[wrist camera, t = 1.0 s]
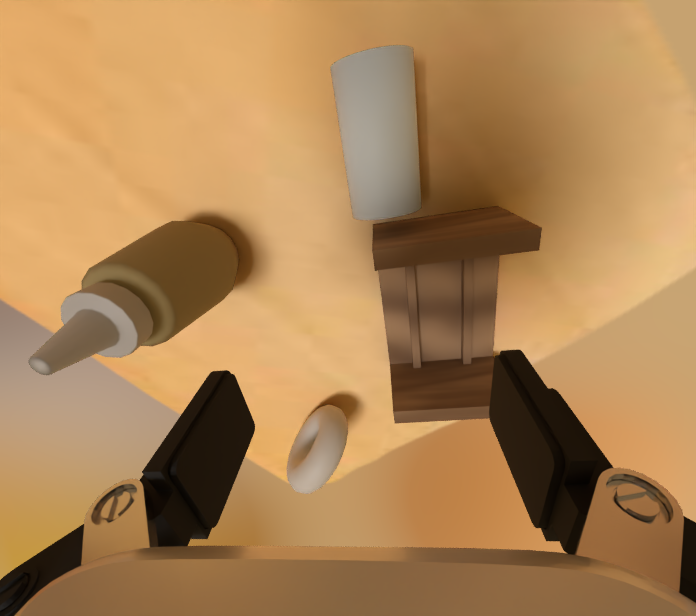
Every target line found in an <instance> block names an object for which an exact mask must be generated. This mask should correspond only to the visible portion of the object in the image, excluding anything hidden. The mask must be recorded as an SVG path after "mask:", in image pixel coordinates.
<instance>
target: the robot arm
mask: <svg viewBox="0 0 696 616" xmlns="http://www.w3.org/2000/svg"><path fill="white" fill-rule="evenodd" d="M489 417H490V422H491V424H492V427H493V429H494V432H495V434H496V437H497V439H498V441H499V444H500V446H501V449H502V451H503V453H504V456H505V458H506V461H507V463H508V465H509V468H510V470H511V473H512V475H513V478H514V480H515V483H516V485H517V487H518V489H519V492H520V494H521V497H522V499H523V502H524V504H525V507H526V509H527V512H528V514H529V516H530V519H531V521H532V523H533V525H534V526H535V527H536V528H541V530H542V532H543V535H544V537H545V539H546V541H560V543H561V546H562V548H563V550H564V551H565V552H566V553H568V554H565V553H557V552H545V551H533V550H506V549H475V548H415V547H414V548H413V547H328V546H327V547H326V546H319V547H318V546H317V547H316V546H188V544H189V541H190V539H208V536H209V534H210V531H211V529H212V528H214V527H215V526H216V525H217V523H218V521H219V519H220V516H221V514H222V511H223V509H224V506H225V504H226V501H227V499H228V496H229V494H230V491H231V489H232V486H233V484H234V481H235V479H236V476H237V474H238V471H239V469H240V466H241V464H242V461H243V459H244V457H245V454H246V452H247V449H248V447H249V444H250V442H251V439H252V437H253V434H254V431H255V424H254V421H253V418H252V416H251V414H250V411H249V409H248V406H247V404H246V402H245V399H244V397H243V394H242V392H241V389H240V387H239V385H238V382H237V380H236V377H235V376H234V375H233V374H231V373H230V372H229V371H227V370H225V371H213V372H211V373H210V374H209V376H208V377H207V378H206V380H205V381H204V383H203V384H202V386H201V387H200V389H199V390H198V392H197V393H196V394H195V396H194V397H193V399H192V400H191V402H190V403H189V405H188V406H187V407H186V409H185V410H184V412H183V413H182V415H181V416H180V418H179V419H178V421H177V422H176V424H175V425H174V426H173V428H172V429H171V431H170V432H169V434H168V435H167V436H166V438H165V439H164V441H163V442H162V444H161V445H160V447H159V448H158V450H157V451H156V452H155V454H154V455H153V457H152V458H151V460H150V461H149V463H148V464H147V466H146V467H145V468H144V470H143V471H142V473H143V474H144V475H143V476H142V478H141V479H140V481H139V480H137V479H127V480H123V481H121V482H119V483H116V484H114V485H113V486H111V487H110V488H108V489H107V490H106V491H104V492H103V493H102V494H101V495H100V496H99V497H98V498H97V499H96V500H95V501H94V503H93V504H92V505H91V506H90V508H89V510H88V512H87V514H86V517H85V521H84V524H83V525H81V526H80V527H79V528H77V529H75V530H74V531H72V532H71V533H69V534H68V535H66V536H64V537H63V538H62V539H60V540H58V541H57V542H55V543H54V544H52V545H51V546H49V547H47V548H46V549H44V550H43V551H41V552H40V553H38V554H37V555H35V556H34V557H32V558H31V559H29V560H27V561H26V562H24V563H23V564H21V565H20V566H18V567H17V568H15V569H14V570H12V571H11V572H10V573H8V574H7V575H6V576H4V577H3V578H2V579H1V580H0V616H696V523H695V522H694V521H692V520H690V519H688V518H686V517H684V516H683V512H682V509H681V507H680V506H679V504H678V502H677V500H676V499H675V498H674V497H673V496H672V495H671V494H670V492H669V491H668V490H667V489H665V488H664V487H663V486H662V485H660V484H659V483H658V482H656V481H655V480H653V479H651V478H649V477H647V476H646V475H644V474H641V473H639V472H636V471H633V470H630V469H624V468H613V467H612V465H611V464H610V462H609V461H608V460H607V458H606V457H605V455H604V454H603V453H602V451H601V450H600V449H599V447H598V446H597V445H596V443H595V442H594V440H593V439H592V438H591V436H590V435H589V433H588V432H587V431H586V430H585V428H584V427H583V425H582V424H581V422H580V421H579V420H578V418H577V417H576V416H575V414H574V413H573V411H572V410H571V409H570V408H569V406H568V405H567V403H566V402H565V401H564V399H563V398H562V396H561V395H560V394H559V393H558V392H557V391H556V390H555V389H553V388H551V389H548V388H547V387H546V385H545V384H544V383H543V381H542V380H541V378H540V377H539V375H538V374H537V372H536V371H535V369H534V368H533V367H532V365H531V364H530V362H529V361H528V359H527V358H526V357H525V355H524V354H523V352H522V351H521V350H507V351H501V352H500V355H498V356H495V358H494V367H493V377H492V387H491V397H490V407H489Z"/></svg>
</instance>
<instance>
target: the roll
mask: <svg viewBox="0 0 696 616" xmlns="http://www.w3.org/2000/svg"><path fill="white" fill-rule="evenodd" d="M330 69H331V76H332V82H333V89H334V95H335V102H336V109H337V115H338V122H339V128H340V135H341V141H342V148H343V155H344V161H345V168H346V174H347V181H348V188H349V194H350V201H351V207H352V214H353V218H355V219H358V220H379V219H387V218H394V217H399V216H403V215H407V214H410V213H413V212H416V211H418V210H419V209H421V188H420V168H419V149H418V129H417V110H416V91H415V71H414V52H413V48H412V47H410V46H405V45H393V46H384V47H378V48H373V49H368V50H365V51H361V52H358V53H355V54H352V55H349V56H346V57H344V58H342V59H340V60H338V61H336V62H335V63H334V64H332V66H331V67H330Z"/></svg>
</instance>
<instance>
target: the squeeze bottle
mask: <svg viewBox="0 0 696 616" xmlns="http://www.w3.org/2000/svg"><path fill="white" fill-rule="evenodd" d="M238 263H239V258H238V252H237V248H236V246H235V245H234V243H233V241H232V239H231V238H230V237H229V236H228V235H227V234H225V233H224V232H223V231H222V230H220V229H218V228H216V227H213V226H211V225H207V224H202V223H196V222H191V221H171V222H169V223H167V224H165V225H163V226H161V227H159V228H157V229H155V230H153V231H152V232H150V233H148V234H147V235H145V236H143V237H142V238H140V239H138V240H136V241H135V242H133V243H131V244H130V245H128V246H126V247H125V248H123V249H121V250H120V251H118V252H116V253H115V254H113V255H111V256H109V257H108V258H106V259H104V260H103V261H101V262H99V263H98V264H96V265H94V266H93V267H91V268H89V270H88V271H87V273H86V275H85V276H84V278H83V280H82V290H80V291H78V292H76V293H74V294H72V295H69V296H67V297H66V299H65V300H64V302H63V304H62V305H61V320H62V322H63V324H64V326H63V327H62V328H61V329H59V330H58V331H57V332H56V333H55V334H54V335H53V336H52V337H51V338H50V339H49V340H48V341H47V342H46V343H45V344H44V345H43V346H42V347H41V348H40V349H39V350H38V351H37V352H36V353H35V354H33V355H32V356H31V357H30V359H29V365H30V366H31V368H32V369H34V370H35V371H36V372H38V373H40V374H43V375H50V374H53V373H55V372H57V371H59V370H61V369H63V368H65V367H68V366H70V365H72V364H74V363H77V362H79V361H81V360H83V359H85V358H87V357H90V356H92V355H94V354H99V355H102V356H105V357H119V358H121V357H123V356H126V355H129V354H131V353H133V352H134V351H135V350H136V349H137V348H138V347H140V346H155V345H158V344H160V343H163V342H166V341H168V340H169V339H170V338H172V337H173V336H174V335H176V334H177V333H179V332H180V331H181V330H183V329H184V328H185V327H187V326H188V325H189V324H191V323H192V322H194V321H195V320H196V319H198V318H199V317H200V316H202V315H203V314H204V313H206V312H207V311H209V310H210V309H211V308H213V307H214V306H215V305H217V304H218V303H219V302H221V301H222V300H223V299H224V298H225V297H226V296H227V295H228V294H229V293H230V292H231V291H232V290H233V286H234V282H235V278H236V274H237V268H238Z"/></svg>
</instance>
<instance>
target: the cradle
mask: <svg viewBox="0 0 696 616" xmlns="http://www.w3.org/2000/svg"><path fill="white" fill-rule="evenodd" d="M541 230H542V228H541V227H539V226H537V225H535V224H533V223H531V222H529V221H527V220H525V219H523V218H521V217H519V216H517V215H515V214H513V213H511V212H509V211H507V210H505V209H503V208H501V207H499V206H496V207H489V208H482V209H475V210H468V211H462V212H455V213H448V214H441V215H434V216H427V217H421V218H414V219H407V220H400V221H393V222H386V223H380V224H373V248H372V251H373V259H374V266H375V271H377V270H378V272H379V280H380V288H381V296H382V304H383V312H384V320H385V328H386V336H387V344H388V352H389V360H390V371H391V385H392V399H393V413H394V420H395V423H410V422H429V421H448V420H465V419H484V418H490V417H489V407H490V397H491V387H492V377H493V367H494V357H493V345H494V329H495V314H496V298H497V283H498V267H499V255H505V254H513V253H521V252H529V251H537V250H539V246H540V238H541Z"/></svg>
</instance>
